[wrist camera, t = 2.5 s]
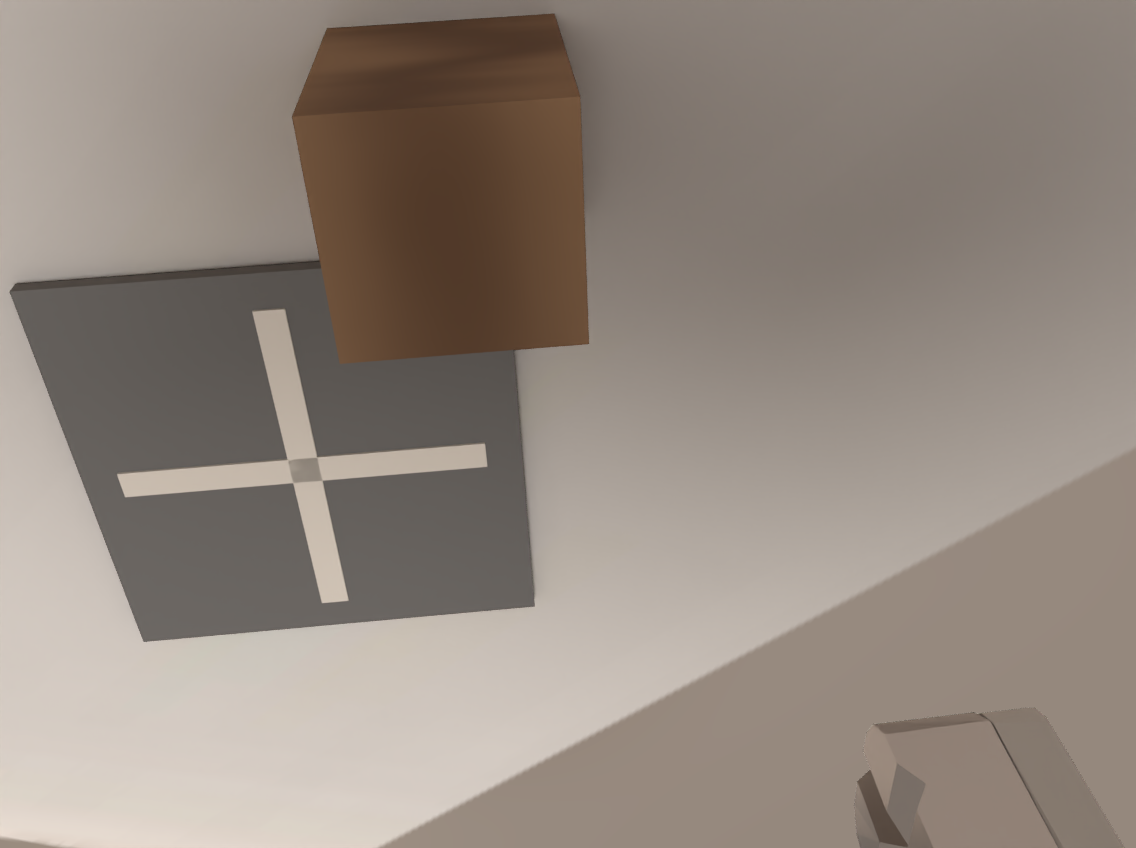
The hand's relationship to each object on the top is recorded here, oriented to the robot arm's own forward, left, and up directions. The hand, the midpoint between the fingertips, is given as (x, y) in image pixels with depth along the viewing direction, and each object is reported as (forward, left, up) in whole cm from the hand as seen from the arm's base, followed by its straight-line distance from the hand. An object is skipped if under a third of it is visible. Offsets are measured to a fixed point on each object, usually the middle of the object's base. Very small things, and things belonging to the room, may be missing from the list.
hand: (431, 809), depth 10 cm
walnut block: (0, 0, -18) cm, 18 cm away
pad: (+5, +9, -18) cm, 21 cm away
